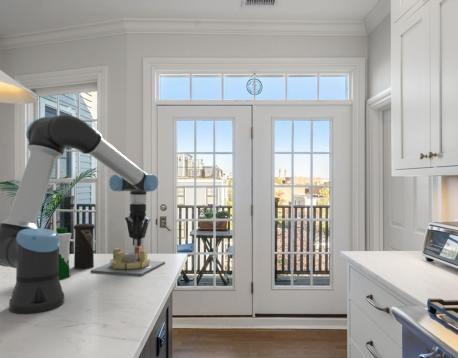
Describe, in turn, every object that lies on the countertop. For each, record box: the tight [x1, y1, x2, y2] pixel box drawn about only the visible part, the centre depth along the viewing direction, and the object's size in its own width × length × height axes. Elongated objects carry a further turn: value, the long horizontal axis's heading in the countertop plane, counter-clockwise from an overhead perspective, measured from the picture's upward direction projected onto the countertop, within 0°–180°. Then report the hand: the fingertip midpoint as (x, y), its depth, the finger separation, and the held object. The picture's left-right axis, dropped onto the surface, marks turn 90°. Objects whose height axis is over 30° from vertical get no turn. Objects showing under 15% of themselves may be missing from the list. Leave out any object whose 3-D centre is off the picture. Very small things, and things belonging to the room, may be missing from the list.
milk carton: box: [55, 226, 73, 281], centre depth 142 cm, size 9×9×20 cm
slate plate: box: [90, 252, 166, 277], centre depth 159 cm, size 24×24×6 cm
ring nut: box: [109, 246, 150, 270], centre depth 160 cm, size 17×17×7 cm
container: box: [73, 223, 96, 270], centre depth 161 cm, size 9×9×20 cm
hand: (136, 252), depth 167 cm, fingers closed
